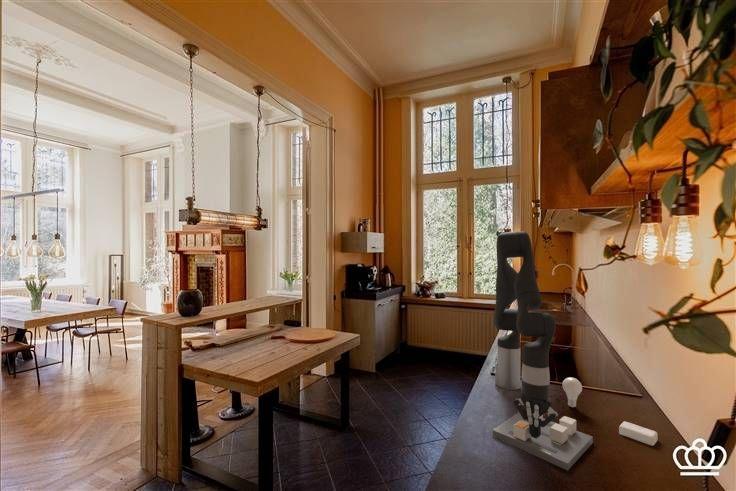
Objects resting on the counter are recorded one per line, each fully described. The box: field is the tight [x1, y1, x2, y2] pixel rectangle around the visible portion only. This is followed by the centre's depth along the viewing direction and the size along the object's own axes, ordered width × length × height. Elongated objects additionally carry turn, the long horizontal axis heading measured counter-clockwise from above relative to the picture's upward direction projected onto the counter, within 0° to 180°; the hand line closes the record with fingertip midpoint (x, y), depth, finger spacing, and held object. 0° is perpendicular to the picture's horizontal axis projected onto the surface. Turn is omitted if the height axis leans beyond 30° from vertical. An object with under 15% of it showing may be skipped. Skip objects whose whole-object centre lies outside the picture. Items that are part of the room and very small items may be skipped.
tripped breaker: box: [514, 420, 531, 441], centre depth 106 cm, size 4×4×4 cm
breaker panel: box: [492, 412, 594, 471], centre depth 108 cm, size 22×20×6 cm
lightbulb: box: [562, 376, 583, 408], centre depth 130 cm, size 6×6×11 cm
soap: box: [618, 420, 659, 446], centre depth 110 cm, size 9×6×3 cm, turn 39°
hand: (535, 436), depth 103 cm, fingers closed
